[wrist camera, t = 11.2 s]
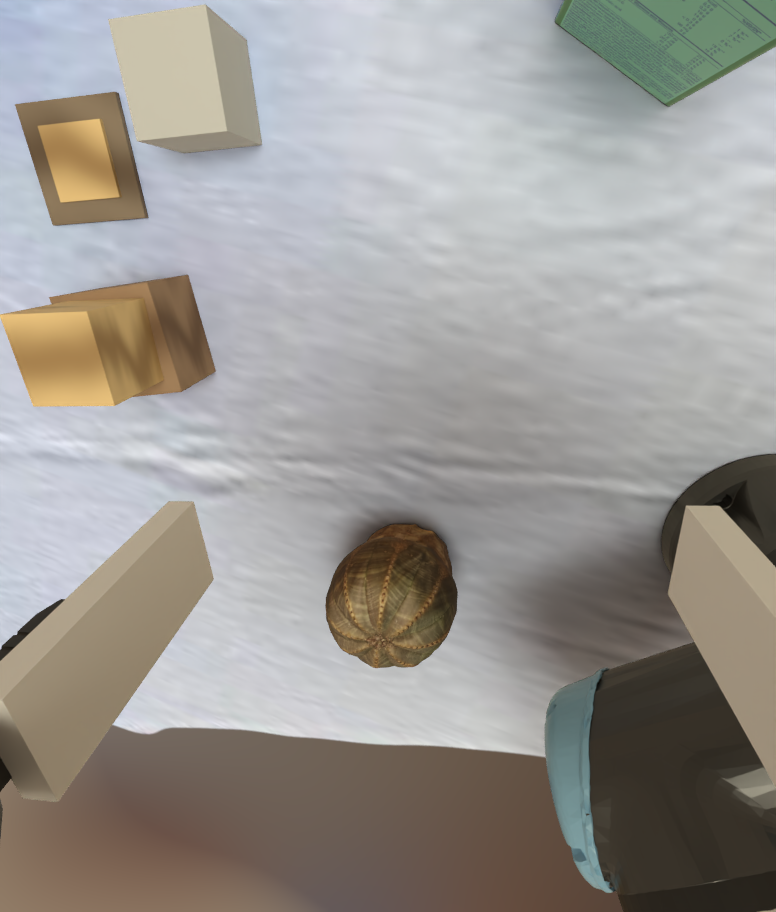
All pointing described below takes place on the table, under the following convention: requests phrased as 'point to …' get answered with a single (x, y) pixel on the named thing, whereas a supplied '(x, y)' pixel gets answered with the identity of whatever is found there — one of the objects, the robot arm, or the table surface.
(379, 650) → the shell
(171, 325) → the walnut block
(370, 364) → the table surface
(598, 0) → the milk carton
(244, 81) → the beige cube
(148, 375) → the maple cube
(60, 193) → the tile
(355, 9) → the table surface
